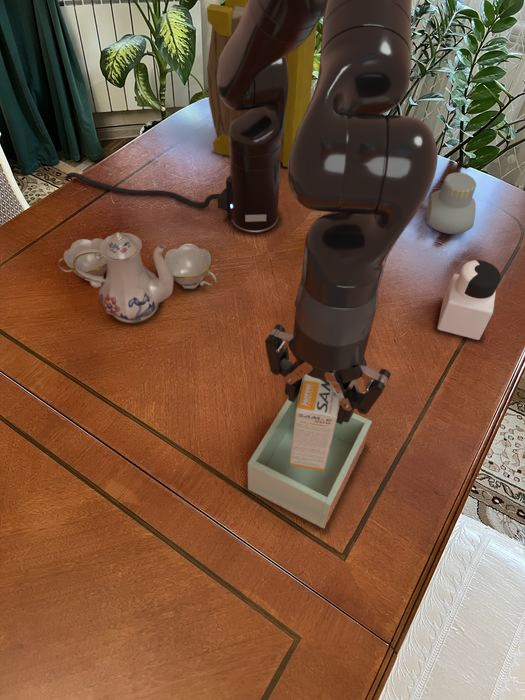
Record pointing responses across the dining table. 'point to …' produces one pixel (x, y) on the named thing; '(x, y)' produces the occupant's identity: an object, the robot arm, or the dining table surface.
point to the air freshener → (453, 205)
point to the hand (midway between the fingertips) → (317, 406)
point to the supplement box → (313, 424)
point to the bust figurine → (470, 300)
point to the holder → (303, 483)
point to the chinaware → (135, 273)
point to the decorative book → (299, 78)
